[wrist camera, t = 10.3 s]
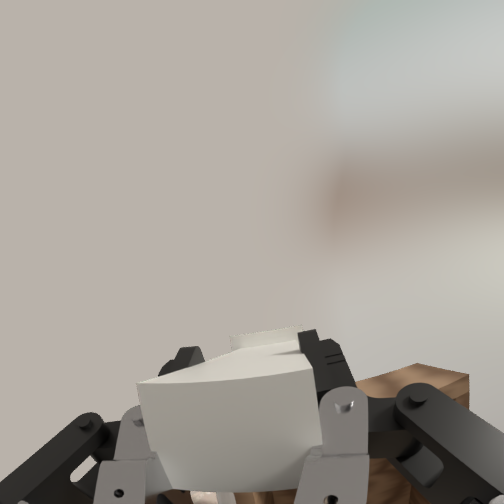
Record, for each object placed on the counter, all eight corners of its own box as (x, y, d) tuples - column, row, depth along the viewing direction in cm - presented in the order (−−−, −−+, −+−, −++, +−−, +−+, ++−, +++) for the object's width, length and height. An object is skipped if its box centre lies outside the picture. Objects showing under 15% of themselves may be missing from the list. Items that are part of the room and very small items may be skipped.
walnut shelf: (413, 511, 23) (417, 363, 33) (440, 549, 10) (468, 374, 19) (272, 542, 26) (244, 400, 35) (264, 591, 12) (220, 436, 21)
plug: (304, 364, 25) (298, 325, 26) (352, 477, 4) (333, 315, 5) (252, 372, 26) (246, 334, 27) (142, 483, 5) (110, 343, 6)
